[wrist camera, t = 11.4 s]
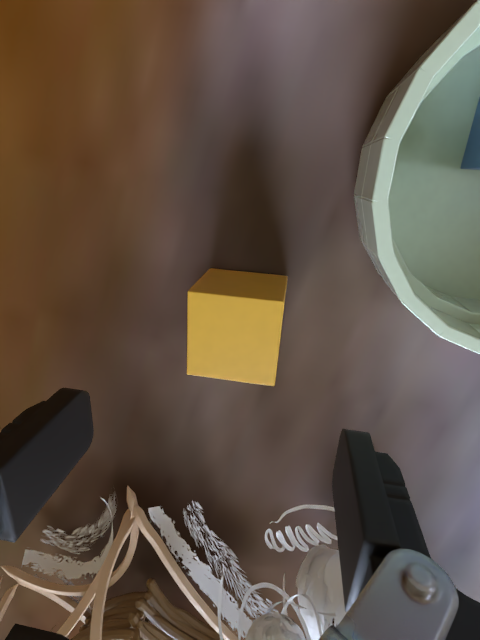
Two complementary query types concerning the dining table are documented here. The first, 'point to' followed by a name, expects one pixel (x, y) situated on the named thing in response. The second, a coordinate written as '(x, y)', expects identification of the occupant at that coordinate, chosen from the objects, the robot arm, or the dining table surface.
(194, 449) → the dining table surface
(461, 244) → the bowl
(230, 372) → the mustard cube
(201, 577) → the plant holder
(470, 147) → the blue cube
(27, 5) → the dining table surface
